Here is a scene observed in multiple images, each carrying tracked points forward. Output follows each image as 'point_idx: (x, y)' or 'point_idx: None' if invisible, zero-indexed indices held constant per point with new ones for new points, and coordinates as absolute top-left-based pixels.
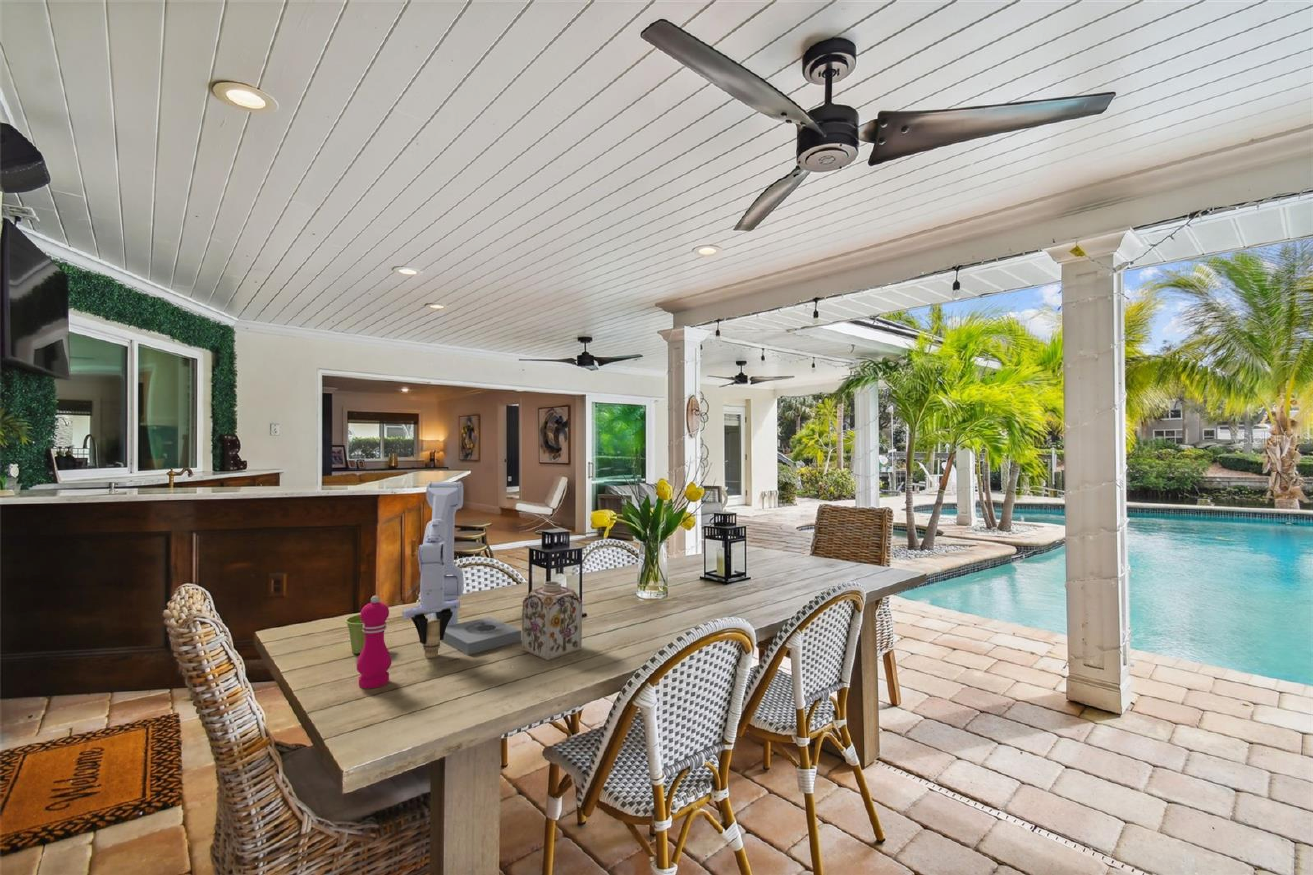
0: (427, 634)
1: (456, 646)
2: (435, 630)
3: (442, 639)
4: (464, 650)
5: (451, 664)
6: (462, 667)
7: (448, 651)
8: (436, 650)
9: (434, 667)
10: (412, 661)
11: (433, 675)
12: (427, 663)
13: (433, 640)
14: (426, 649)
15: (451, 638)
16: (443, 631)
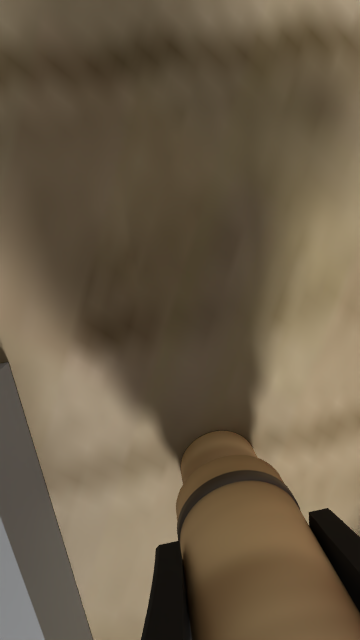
0: (347, 597)
1: (47, 521)
2: (290, 635)
3: (163, 546)
4: (13, 418)
5: (159, 247)
6: (107, 129)
7: (108, 491)
8: (207, 464)
9: (270, 259)
10: (331, 432)
11: (330, 104)
12: (279, 356)
13: (264, 519)
14: (280, 477)
15: (55, 619)
16: (164, 629)
